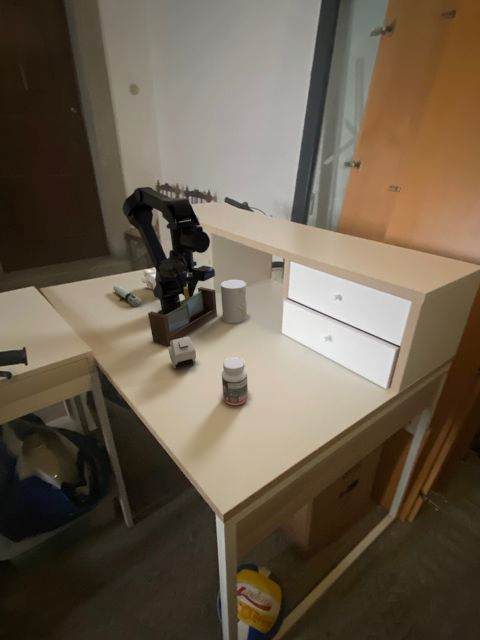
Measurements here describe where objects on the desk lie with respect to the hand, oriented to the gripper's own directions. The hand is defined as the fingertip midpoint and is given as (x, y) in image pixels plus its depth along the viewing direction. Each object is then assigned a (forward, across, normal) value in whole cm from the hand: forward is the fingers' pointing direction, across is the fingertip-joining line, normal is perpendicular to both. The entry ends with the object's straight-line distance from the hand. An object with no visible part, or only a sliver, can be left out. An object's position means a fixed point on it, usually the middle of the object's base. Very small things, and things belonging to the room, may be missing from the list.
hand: (187, 296), depth 111 cm
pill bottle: (+10, +34, -26) cm, 44 cm away
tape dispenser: (+10, +14, -20) cm, 27 cm away
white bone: (+10, -29, +16) cm, 34 cm away
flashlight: (+10, -35, +3) cm, 36 cm away
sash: (+8, 0, +2) cm, 8 cm away
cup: (+10, +10, +10) cm, 18 cm away
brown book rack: (+10, +1, -4) cm, 10 cm away
